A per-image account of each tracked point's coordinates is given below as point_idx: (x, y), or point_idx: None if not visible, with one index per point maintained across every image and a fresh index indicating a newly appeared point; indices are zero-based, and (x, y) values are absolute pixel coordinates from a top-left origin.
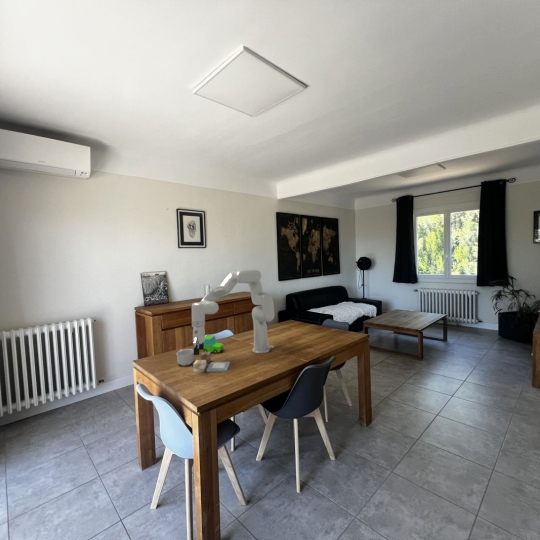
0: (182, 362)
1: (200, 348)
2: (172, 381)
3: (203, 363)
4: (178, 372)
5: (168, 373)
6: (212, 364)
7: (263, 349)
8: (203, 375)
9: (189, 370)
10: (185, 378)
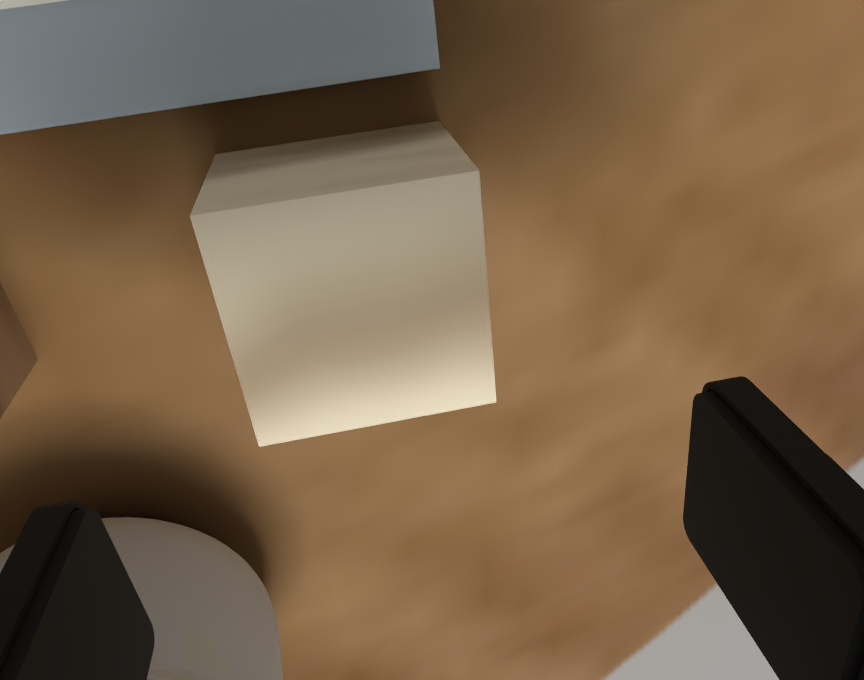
0: (277, 630)
1: (119, 620)
2: None
3: (470, 178)
4: (491, 515)
5: (528, 602)
6: (76, 38)
7: None
8: (623, 50)
9: None
10: (719, 319)
